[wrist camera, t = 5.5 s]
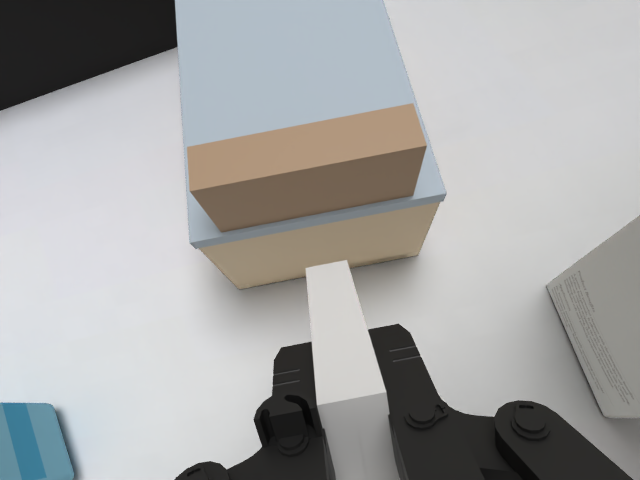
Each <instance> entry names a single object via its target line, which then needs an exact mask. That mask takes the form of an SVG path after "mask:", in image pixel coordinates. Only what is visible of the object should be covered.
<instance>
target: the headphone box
mask: <svg viewBox="0 0 640 480" xmlns="http://www.w3.org/2000/svg"><path fill="white" fill-rule="evenodd" d="M175 47H178V43H177V27H176V10H175V0H0V111H1V110H3V109H6V108H9V107H12V106H14V105H17V104H20V103H23V102H25V101H28V100H31V99H34V98H37V97H39V96H42V95H45V94H48V93H50V92H53V91H56V90H59V89H62V88H64V87H67V86H70V85H73V84H75V83H78V82H81V81H84V80H86V79H89V78H92V77H95V76H98V75H100V74H103V73H106V72H109V71H111V70H114V69H117V68H120V67H122V66H125V65H128V64H131V63H134V62H136V61H139V60H142V59H145V58H147V57H150V56H153V55H156V54H159V53H161V52H164V51H167V50H170V49H172V48H175Z"/></svg>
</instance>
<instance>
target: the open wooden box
mask: <svg viewBox="0 0 640 480" xmlns="http://www.w3.org/2000/svg"><path fill="white" fill-rule="evenodd" d="M439 204H440V202H437V203H431V204H426V205H421V206H416V207H411V208H405V209H400V210H395V211H390V212H385V213H379V214H374V215H369V216H364V217H359V218H353V219H348V220H343V221H338V222H332V223H327V224H322V225H317V226H312V227H306V228H301V229H296V230H291V231H286V232H280V233H275V234H270V235H265V236H260V237H254V238H249V239H244V240H239V241H234V242H228V243H223V244H218V245H213V246H208V247H202V248H199V249H200V250H201V251H202V252H203V253H204V254H205V255H206V256H207V257H208V258H209V259H210V260H211V261H212V262H213V263H214V264H215V265H216V266H217V267H218V268H219V270H220V271H221V272H222V273H223V274H224V275H225V276H226V277H227V278H228V279H229V280H230V281H231V282H232V283H233V284H234V285H235V286H236V287H237V288H238V289H244V288H250V287H255V286H260V285H265V284H270V283H276V282H281V281H286V280H291V279H297V278H302V277H306V268H308V267H313V266H318V265H323V264H328V263H333V262H339V261H344V260H347V262H348V265H349V268H354V267H359V266H365V265H370V264H375V263H380V262H385V261H391V260H396V259H401V258H406V257H412V256H417V255H418V254H419V252H420V250H421V247H422V245H423V242H424V240H425V238H426V235H427V233H428V230H429V228H430V225H431V223H432V221H433V218H434V216H435V213H436V211H437V209H438V206H439Z"/></svg>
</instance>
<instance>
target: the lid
mask: <svg viewBox="0 0 640 480" xmlns="http://www.w3.org/2000/svg"><path fill="white" fill-rule="evenodd" d="M175 10H176V27H177V43H178V60H179V77H180V93H181V110H182V126H183V143H184V159H185V176H186V192H187V209H188V225H189V242H190V244H191V245H192V246H193V247H194V248H195V249H197V248H202V247H208V246H213V245H218V244H223V243H228V242H234V241H239V240H244V239H249V238H254V237H260V236H265V235H270V234H275V233H280V232H286V231H291V230H296V229H301V228H306V227H312V226H317V225H322V224H327V223H332V222H338V221H343V220H348V219H353V218H359V217H364V216H369V215H374V214H379V213H385V212H390V211H395V210H400V209H405V208H411V207H416V206H421V205H426V204H431V203H437V202H442V201H444V198H445V196H446V194H447V193H446V190H445V187H444V184H443V181H442V178H441V175H440V172H439V168H438V165H437V162H436V159H435V156H434V153H433V150H432V147H431V144H430V141H429V138H428V135H427V132H426V129H425V126H424V123H423V120H422V117H421V114H420V111H419V108H418V105H417V102H416V99H415V95H414V92H413V89H412V86H411V83H410V80H409V77H408V74H407V71H406V68H405V65H404V62H403V59H402V56H401V53H400V50H399V47H398V44H397V41H396V38H395V35H394V32H393V29H392V25H391V22H390V19H389V16H388V13H387V10H386V7H385V4H384V1H383V0H175Z"/></svg>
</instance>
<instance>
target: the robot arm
mask: <svg viewBox="0 0 640 480" xmlns="http://www.w3.org/2000/svg"><path fill="white" fill-rule="evenodd" d="M306 279H307V291H308V303H309V315H310V327H311V340H312V342H308V343H303V344H297V345H292V346H287V347H282V348H281V349H280V351H279V353H278V354H277V356H276V358H275V359H274V370H273V374H274V376H273V390H272V396H271V397H270V398H268V399H267V400H265V401H264V402H263V403H262V404H261V406H260V407H259V408H258V409H257V411H256V414H255V417H254V422H255V425H256V429H257V432H258V435H259V438H260V441H261V444H262V447H261V449H260V450H259V451H258V452H257V453H255V454H254V455H253V456H252V457H250V458H248V459H247V460H245V461H243V462H241V463H239V464H237V465H235V466H233V467H231V468H229V469H227V470H226V469H225V468H224V467H223V466H222V465H221V464H219V463H215V462H211V461H209V462H203V463H198V464H196V465H194V466H192V467H190V468H187V469H186V470H185V471H184V472H182V473H181V474H180V475H179V476H178V477H176V479H175V480H633V479H632V478H631V477H630V476H628V475H627V474H626V473H625V472H624V471H623V470H621V469H620V468H619V467H618V466H617V465H616V464H615V463H613V462H612V461H611V460H610V459H609V458H608V457H607V456H605V455H604V454H603V453H602V452H601V451H600V450H598V449H597V448H596V447H595V446H594V445H593V444H592V443H590V442H589V441H588V440H587V439H586V438H585V437H583V436H582V435H581V434H580V433H579V432H578V431H577V430H575V429H574V428H573V427H572V426H571V425H570V424H569V423H567V422H566V421H565V420H564V419H563V418H562V417H560V416H559V415H558V414H557V413H556V412H554V411H552V410H551V409H549V408H548V407H546V406H544V405H541V404H538V403H535V402H532V401H519V400H518V401H514V402H509V403H506V404H505V405H503V406H502V407H500V408H499V409H498V411H497V413H496V415H495V417H487V416H475V415H469V414H464V413H461V412H459V411H456V410H454V409H452V408H451V407H449V406H448V405H447V403H445V402H444V401H442V400H441V398H440V396H439V395H438V393H437V391H436V389H435V386H434V384H433V382H432V380H431V378H430V375H429V373H428V371H427V369H426V367H425V364H424V362H423V360H422V358H421V357H420V353H419V351H418V349H417V347H416V345H415V342H414V340H413V338H412V336H411V334H410V332H408V331H407V330H406V329H405V328H403V327H402V326H401V325H399V324H395V325H390V326H385V327H379V328H374V329H369V330H368V329H367V326H366V322H365V319H364V316H363V312H362V309H361V305H360V302H359V299H358V295H357V292H356V289H355V285H354V282H353V279H352V275H351V272H350V269H349V265H348V262H347V260H344V261H339V262H333V263H328V264H323V265H318V266H313V267H308V268H306ZM399 477H400V478H399Z"/></svg>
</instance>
